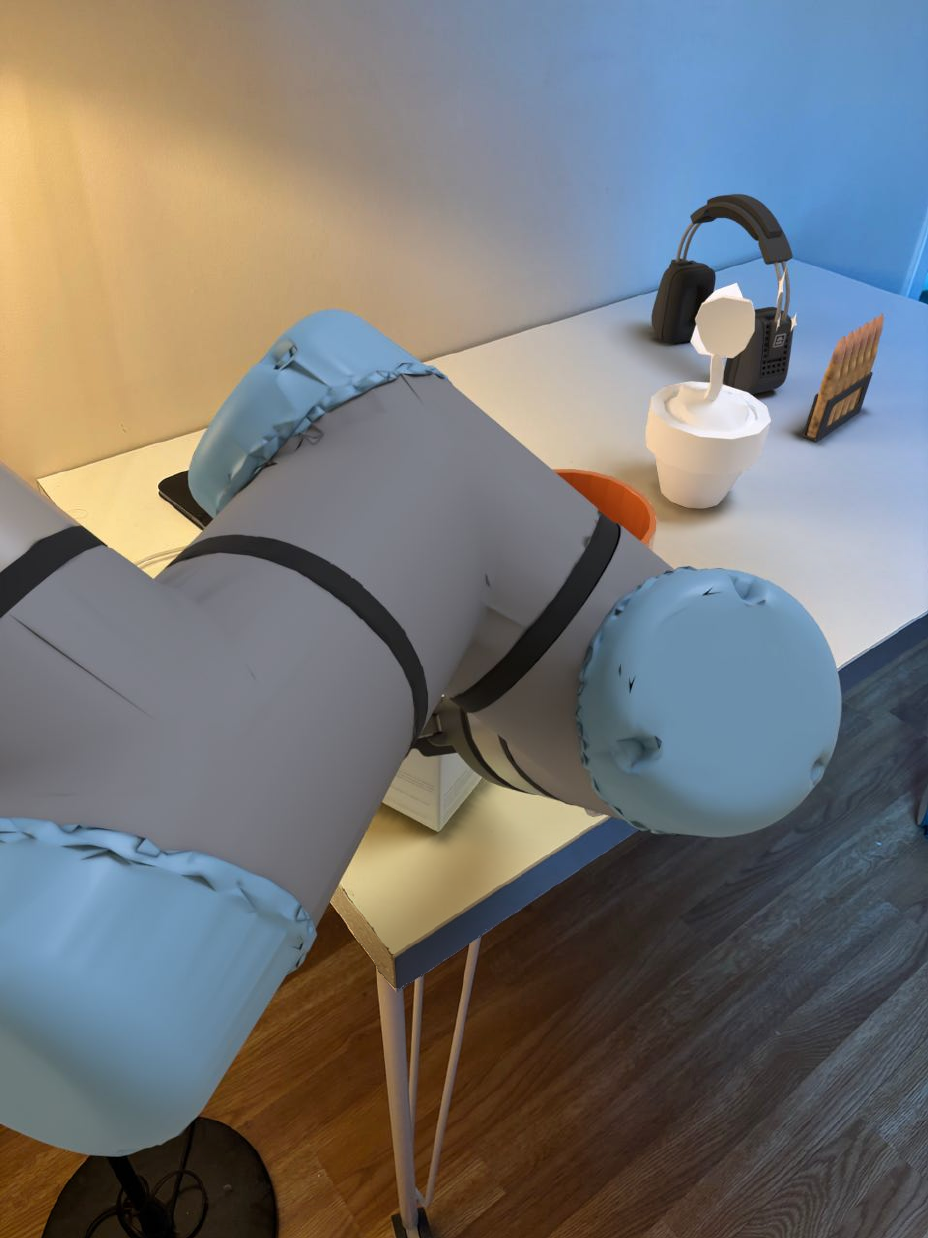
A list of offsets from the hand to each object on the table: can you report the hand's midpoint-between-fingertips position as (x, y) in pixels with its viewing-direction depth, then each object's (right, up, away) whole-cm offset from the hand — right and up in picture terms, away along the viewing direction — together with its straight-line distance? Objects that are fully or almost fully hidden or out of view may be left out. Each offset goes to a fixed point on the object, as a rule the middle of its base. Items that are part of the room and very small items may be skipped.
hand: (438, 707), depth 60 cm
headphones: (+33, +38, +62) cm, 80 cm away
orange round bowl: (+11, +10, +27) cm, 31 cm away
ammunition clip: (+44, +28, +50) cm, 73 cm away
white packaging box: (-1, -6, +8) cm, 10 cm away
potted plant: (+25, +19, +38) cm, 50 cm away
